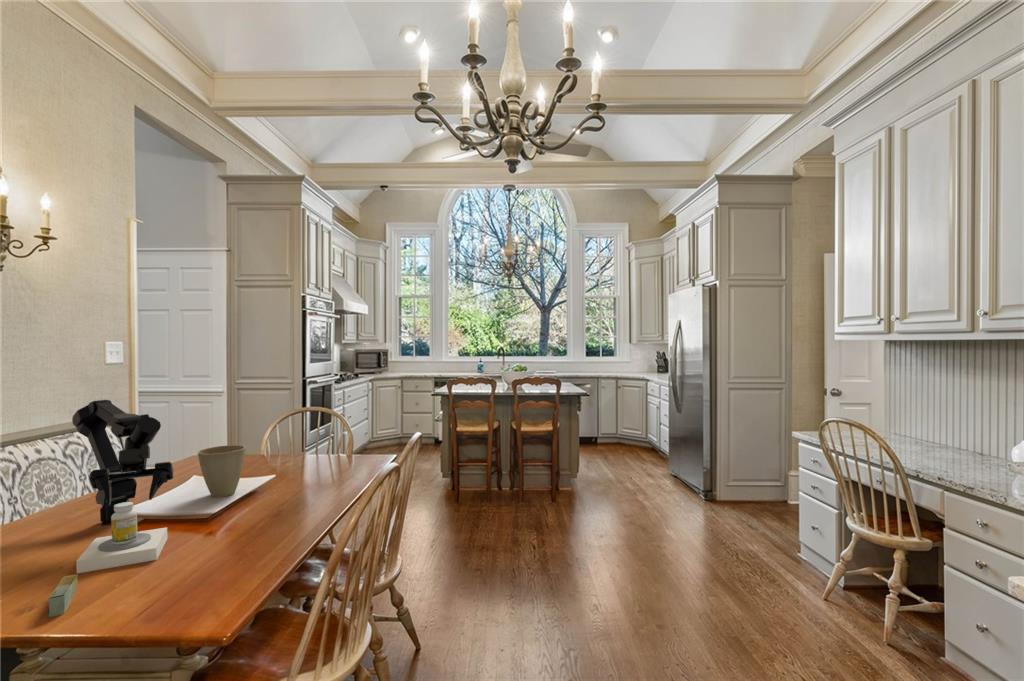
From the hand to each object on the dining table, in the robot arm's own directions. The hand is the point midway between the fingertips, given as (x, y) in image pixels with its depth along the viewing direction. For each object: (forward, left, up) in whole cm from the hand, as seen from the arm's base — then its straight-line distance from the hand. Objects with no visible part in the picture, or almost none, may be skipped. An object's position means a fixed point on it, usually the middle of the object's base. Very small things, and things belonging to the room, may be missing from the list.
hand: (129, 502), depth 144 cm
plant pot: (-19, -40, -12) cm, 46 cm away
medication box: (+6, +32, -12) cm, 35 cm away
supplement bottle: (0, +8, -8) cm, 11 cm away
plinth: (0, +8, -11) cm, 14 cm away
